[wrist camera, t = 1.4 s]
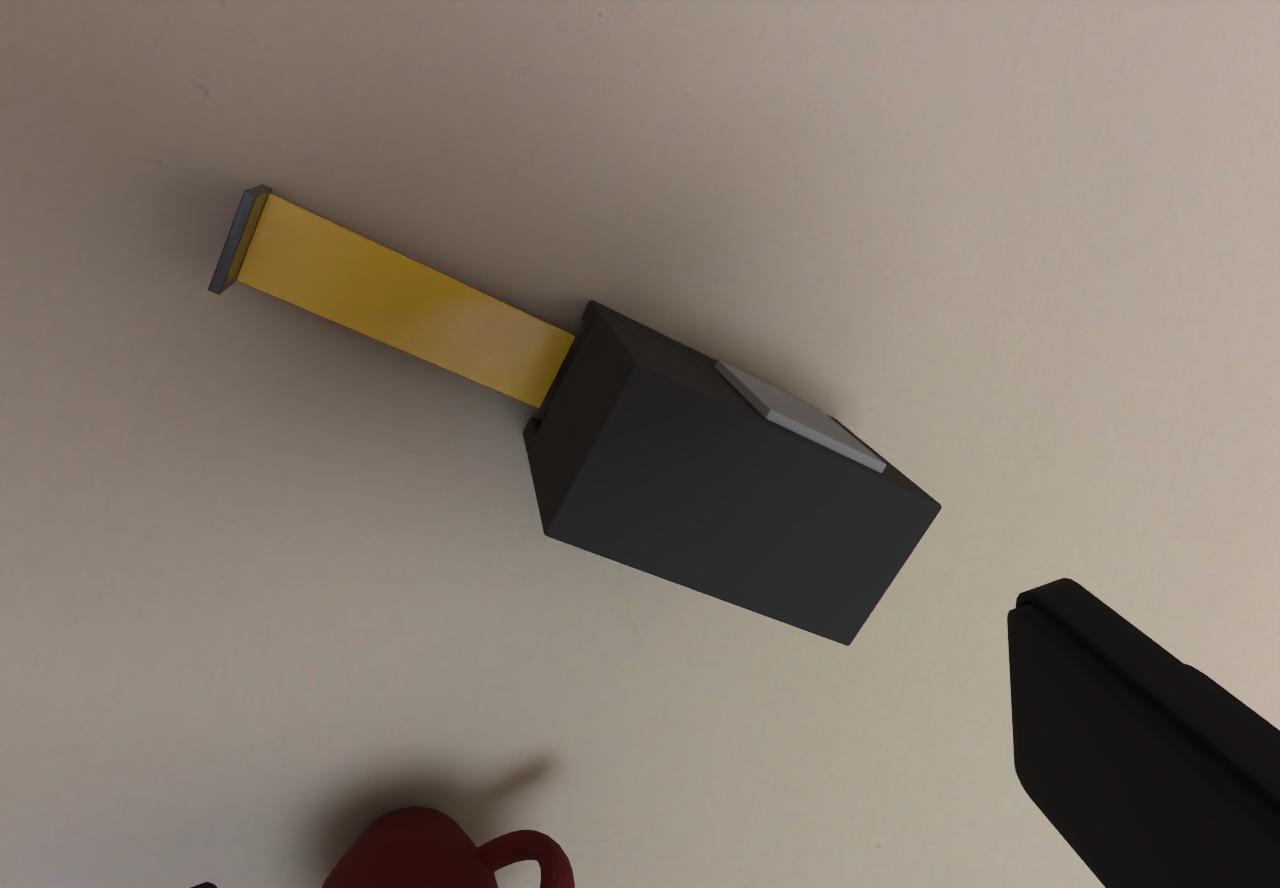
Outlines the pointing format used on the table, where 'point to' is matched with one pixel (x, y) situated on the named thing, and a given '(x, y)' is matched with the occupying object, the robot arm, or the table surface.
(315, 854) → the table surface
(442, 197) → the table surface
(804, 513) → the tape case
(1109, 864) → the robot arm
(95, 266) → the table surface
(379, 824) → the mug
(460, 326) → the tape blade
